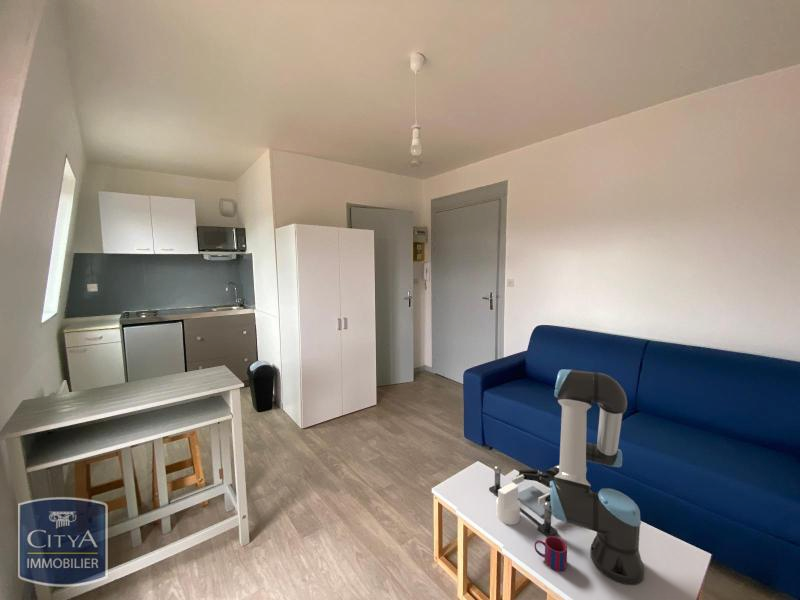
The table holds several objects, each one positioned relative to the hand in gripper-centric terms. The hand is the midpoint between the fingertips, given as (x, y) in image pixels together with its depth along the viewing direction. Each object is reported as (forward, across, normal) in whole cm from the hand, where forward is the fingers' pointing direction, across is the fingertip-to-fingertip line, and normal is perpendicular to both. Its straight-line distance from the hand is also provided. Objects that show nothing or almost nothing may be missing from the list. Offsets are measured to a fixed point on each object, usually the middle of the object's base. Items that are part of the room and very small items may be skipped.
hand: (525, 491), depth 136 cm
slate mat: (-7, 0, -7) cm, 10 cm away
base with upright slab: (+10, 0, -7) cm, 12 cm away
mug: (+13, -22, -7) cm, 26 cm away
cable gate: (+3, 0, -7) cm, 8 cm away
